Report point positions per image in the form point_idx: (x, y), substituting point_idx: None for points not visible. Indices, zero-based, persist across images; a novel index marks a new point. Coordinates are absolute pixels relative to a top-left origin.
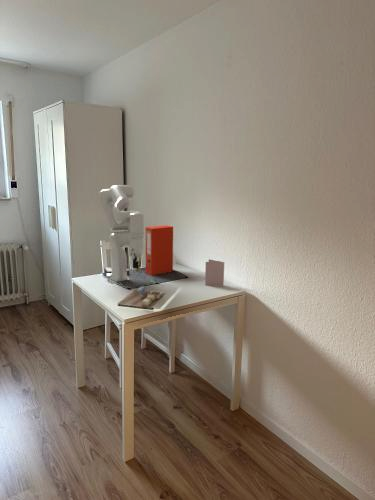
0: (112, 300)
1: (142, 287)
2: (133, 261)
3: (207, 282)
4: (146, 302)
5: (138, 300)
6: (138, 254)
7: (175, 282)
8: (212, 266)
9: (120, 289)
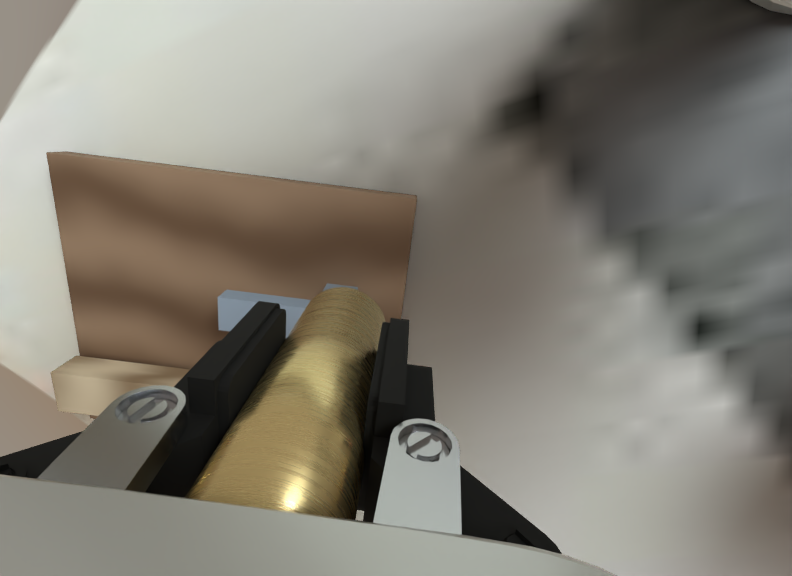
0: (166, 49)
1: None
2: (190, 391)
3: None
4: (59, 402)
5: (174, 302)
6: None
7: (716, 459)
8: None
9: (494, 12)
